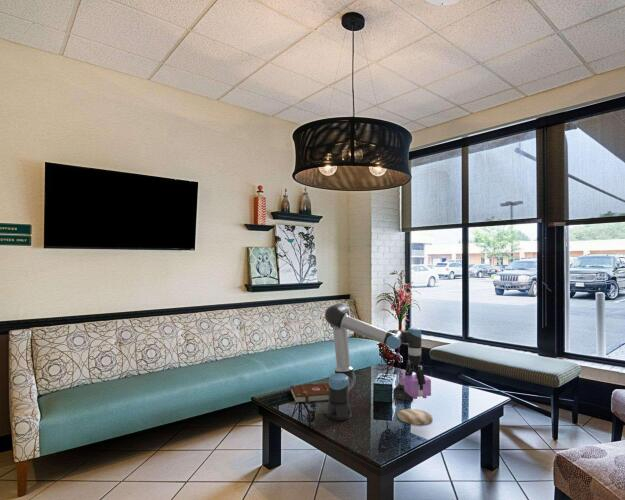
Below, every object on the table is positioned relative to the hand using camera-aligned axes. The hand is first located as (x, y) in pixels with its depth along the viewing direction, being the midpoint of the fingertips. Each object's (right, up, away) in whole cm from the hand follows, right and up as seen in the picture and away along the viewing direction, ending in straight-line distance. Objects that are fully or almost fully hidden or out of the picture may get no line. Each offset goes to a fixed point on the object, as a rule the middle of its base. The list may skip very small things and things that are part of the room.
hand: (414, 391), depth 225 cm
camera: (0, -16, +30) cm, 34 cm away
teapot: (0, -3, 0) cm, 3 cm away
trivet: (0, -15, 0) cm, 15 cm away
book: (-58, -16, +36) cm, 71 cm away
